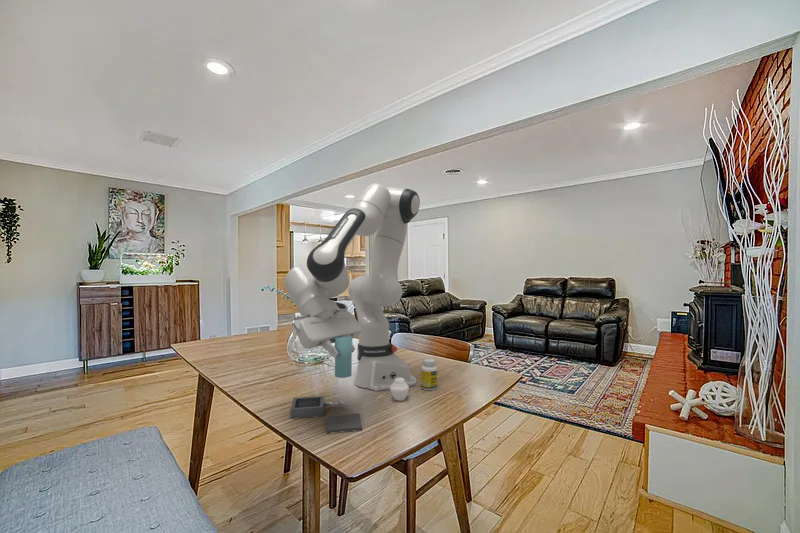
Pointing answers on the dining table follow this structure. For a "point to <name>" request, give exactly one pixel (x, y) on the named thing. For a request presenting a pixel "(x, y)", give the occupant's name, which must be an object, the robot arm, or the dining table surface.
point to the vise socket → (311, 411)
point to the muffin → (399, 389)
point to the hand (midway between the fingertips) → (345, 353)
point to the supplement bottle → (429, 375)
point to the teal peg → (343, 357)
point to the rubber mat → (343, 423)
